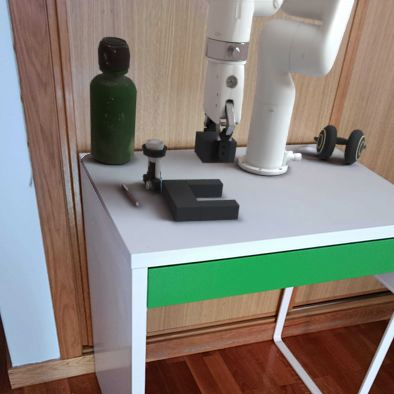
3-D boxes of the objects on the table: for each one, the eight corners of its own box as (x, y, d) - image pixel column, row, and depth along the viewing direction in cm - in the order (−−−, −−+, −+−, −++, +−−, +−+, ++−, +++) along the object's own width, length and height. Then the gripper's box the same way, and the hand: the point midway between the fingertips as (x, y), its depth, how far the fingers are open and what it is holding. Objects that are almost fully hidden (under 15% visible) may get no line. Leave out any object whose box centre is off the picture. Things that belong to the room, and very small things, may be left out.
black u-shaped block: (217, 191, 112) (219, 178, 110) (237, 219, 102) (239, 205, 100) (161, 193, 109) (161, 179, 107) (175, 221, 98) (176, 207, 96)
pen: (119, 186, 109) (119, 181, 108) (122, 185, 109) (122, 181, 109) (136, 207, 102) (136, 202, 101) (140, 207, 102) (140, 202, 101)
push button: (133, 184, 111) (133, 137, 105) (152, 180, 114) (154, 134, 107) (150, 195, 107) (151, 147, 101) (170, 190, 110) (172, 144, 104)
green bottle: (136, 149, 126) (141, 37, 108) (130, 168, 119) (135, 52, 101) (95, 143, 125) (93, 29, 108) (86, 162, 118) (84, 43, 100)
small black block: (224, 152, 102) (227, 131, 100) (234, 163, 98) (237, 142, 95) (194, 151, 101) (195, 131, 98) (202, 163, 96) (204, 141, 93)
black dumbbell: (308, 158, 133) (310, 152, 150) (364, 167, 131) (360, 160, 148) (316, 123, 129) (318, 121, 146) (374, 132, 127) (369, 129, 144)
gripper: (263, 62, 82) (246, 170, 93) (231, 43, 95) (219, 141, 106) (220, 60, 80) (208, 170, 92) (193, 41, 93) (185, 140, 104)
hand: (214, 153), depth 99 cm, fingers closed on small black block, 6 cm apart
